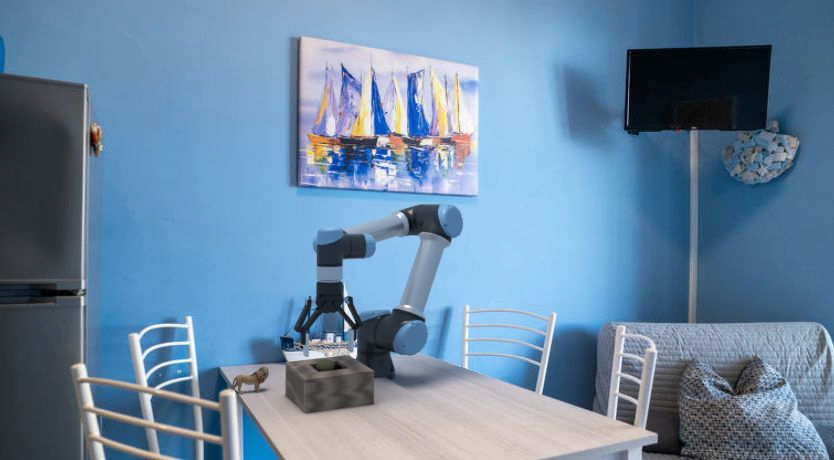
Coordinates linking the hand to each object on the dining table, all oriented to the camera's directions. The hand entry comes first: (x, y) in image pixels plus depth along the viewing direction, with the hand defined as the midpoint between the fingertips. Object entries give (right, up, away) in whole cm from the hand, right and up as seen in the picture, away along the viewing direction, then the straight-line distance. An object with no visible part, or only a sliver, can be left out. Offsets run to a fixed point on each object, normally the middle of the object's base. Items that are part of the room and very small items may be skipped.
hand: (328, 353), depth 159 cm
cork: (-1, -13, 0) cm, 13 cm away
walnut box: (0, -14, 0) cm, 14 cm away
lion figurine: (-26, -13, +7) cm, 30 cm away
